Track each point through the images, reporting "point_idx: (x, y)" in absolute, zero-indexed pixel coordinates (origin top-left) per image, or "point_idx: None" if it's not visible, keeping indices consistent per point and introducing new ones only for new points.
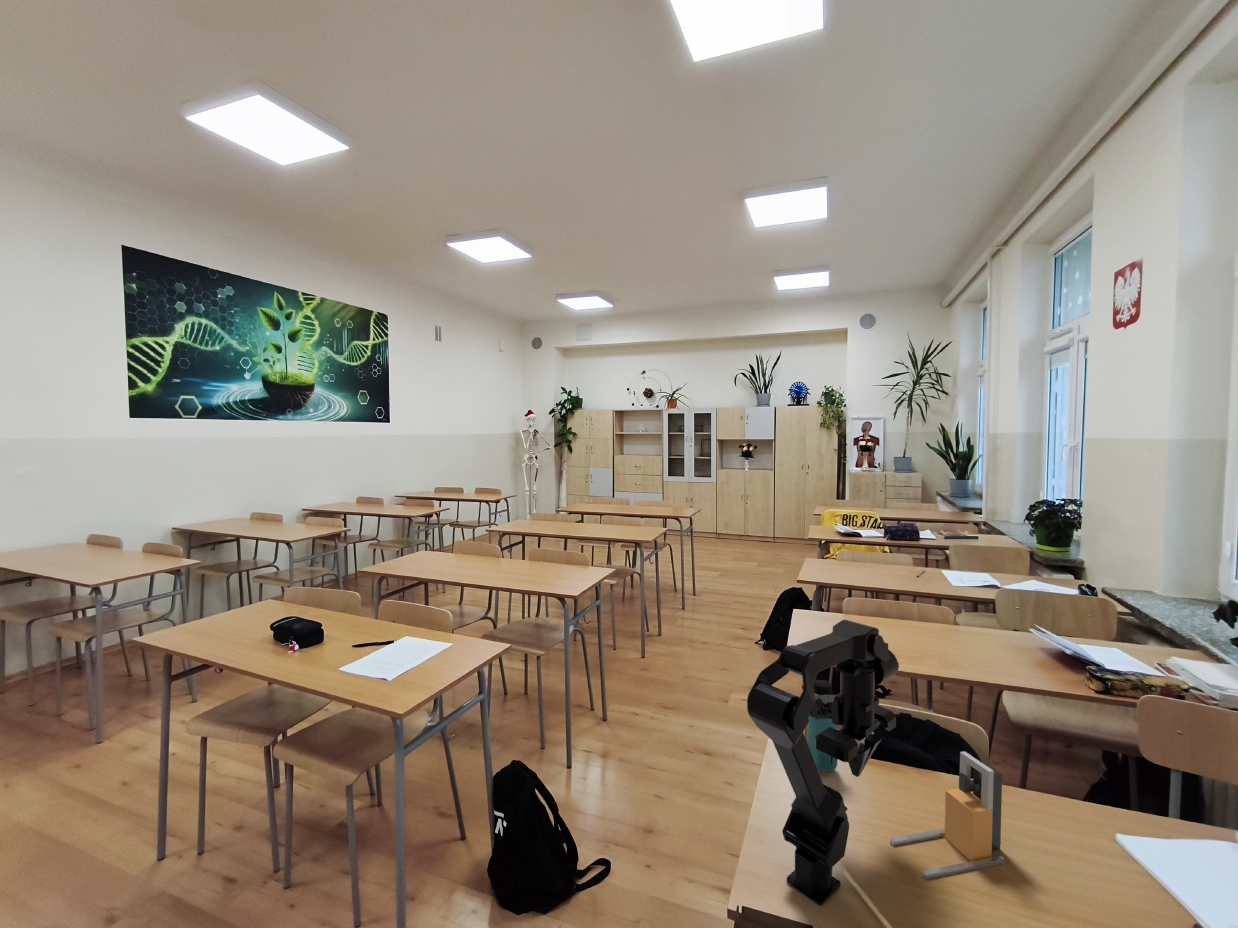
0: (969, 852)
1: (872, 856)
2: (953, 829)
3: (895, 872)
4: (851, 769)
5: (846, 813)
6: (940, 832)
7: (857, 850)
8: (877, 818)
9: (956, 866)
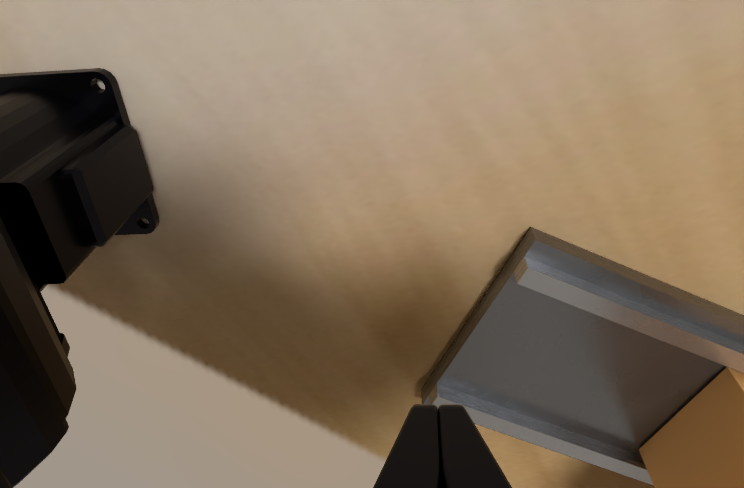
0: (657, 465)
1: (411, 221)
2: (729, 451)
3: (403, 305)
4: (392, 453)
5: (16, 483)
6: (735, 366)
7: (391, 166)
8: (707, 109)
9: (560, 445)
